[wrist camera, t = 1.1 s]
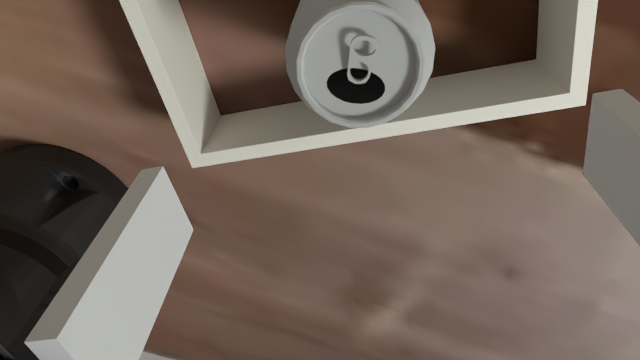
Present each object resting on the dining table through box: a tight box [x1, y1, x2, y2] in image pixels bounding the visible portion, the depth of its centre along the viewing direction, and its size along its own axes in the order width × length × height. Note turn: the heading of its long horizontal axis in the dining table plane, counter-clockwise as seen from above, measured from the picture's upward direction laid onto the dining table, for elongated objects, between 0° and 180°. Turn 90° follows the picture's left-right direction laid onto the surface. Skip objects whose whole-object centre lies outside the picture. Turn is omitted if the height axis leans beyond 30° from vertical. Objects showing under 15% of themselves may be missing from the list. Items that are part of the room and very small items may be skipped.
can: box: [285, 0, 435, 128], centre depth 26 cm, size 8×8×12 cm
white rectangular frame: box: [119, 0, 598, 168], centre depth 29 cm, size 26×14×6 cm, turn 102°
